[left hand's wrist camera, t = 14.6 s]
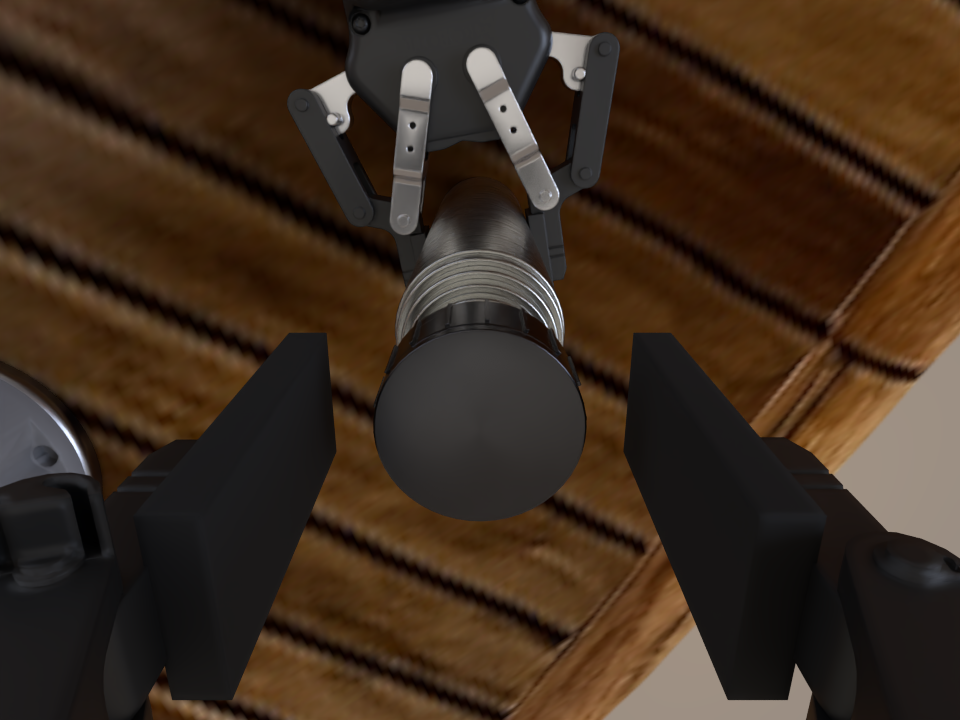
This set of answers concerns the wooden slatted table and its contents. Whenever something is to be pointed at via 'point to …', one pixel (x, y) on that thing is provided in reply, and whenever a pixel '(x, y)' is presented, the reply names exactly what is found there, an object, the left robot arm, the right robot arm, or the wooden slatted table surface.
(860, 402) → the wooden slatted table surface
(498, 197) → the bottle
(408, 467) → the cap
